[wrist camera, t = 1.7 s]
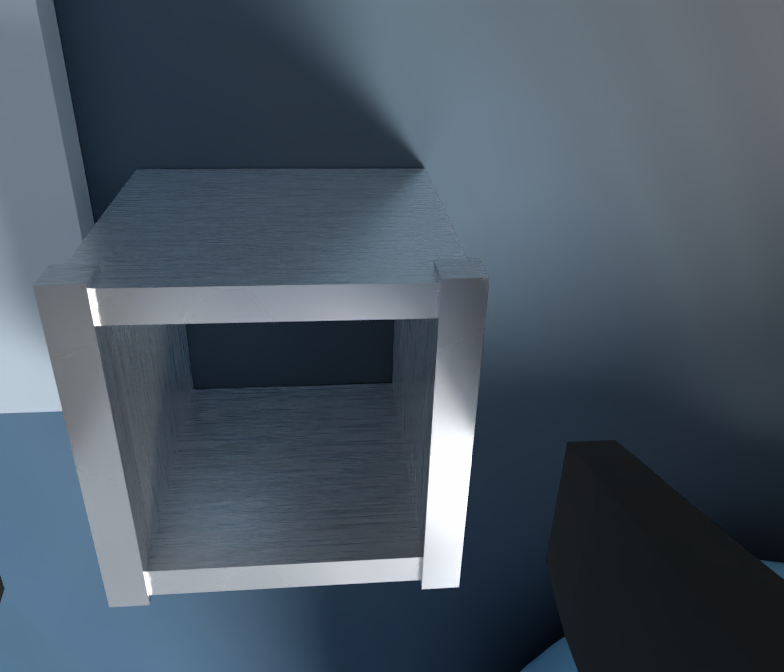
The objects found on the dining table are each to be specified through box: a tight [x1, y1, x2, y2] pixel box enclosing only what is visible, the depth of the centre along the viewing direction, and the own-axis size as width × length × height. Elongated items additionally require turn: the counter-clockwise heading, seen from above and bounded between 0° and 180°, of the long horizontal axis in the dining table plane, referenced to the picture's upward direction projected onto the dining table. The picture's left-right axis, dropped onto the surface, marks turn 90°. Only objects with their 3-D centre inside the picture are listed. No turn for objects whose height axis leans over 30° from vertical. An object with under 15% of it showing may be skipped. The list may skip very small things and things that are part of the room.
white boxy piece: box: [33, 168, 489, 607], centre depth 12 cm, size 5×5×5 cm
